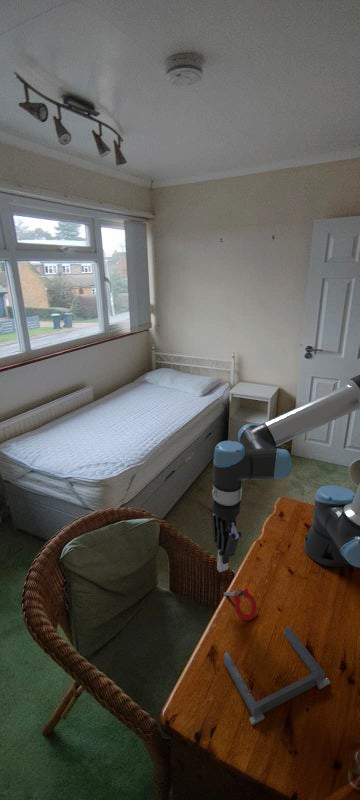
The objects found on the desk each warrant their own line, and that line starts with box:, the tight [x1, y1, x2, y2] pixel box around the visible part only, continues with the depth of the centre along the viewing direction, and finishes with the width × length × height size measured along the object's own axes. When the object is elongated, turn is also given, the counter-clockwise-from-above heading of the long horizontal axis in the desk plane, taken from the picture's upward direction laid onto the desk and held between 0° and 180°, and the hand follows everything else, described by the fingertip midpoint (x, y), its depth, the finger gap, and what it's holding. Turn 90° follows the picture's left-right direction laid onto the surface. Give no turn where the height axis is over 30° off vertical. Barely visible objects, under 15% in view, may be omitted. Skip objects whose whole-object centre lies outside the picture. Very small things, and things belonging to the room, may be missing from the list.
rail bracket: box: [223, 625, 331, 726], centre depth 89 cm, size 21×14×3 cm, turn 113°
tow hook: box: [223, 587, 257, 621], centre depth 107 cm, size 7×10×7 cm
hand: (222, 568), depth 107 cm, fingers closed
